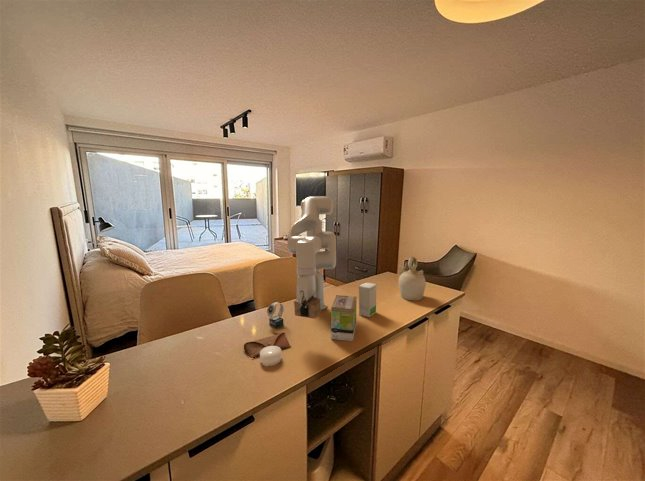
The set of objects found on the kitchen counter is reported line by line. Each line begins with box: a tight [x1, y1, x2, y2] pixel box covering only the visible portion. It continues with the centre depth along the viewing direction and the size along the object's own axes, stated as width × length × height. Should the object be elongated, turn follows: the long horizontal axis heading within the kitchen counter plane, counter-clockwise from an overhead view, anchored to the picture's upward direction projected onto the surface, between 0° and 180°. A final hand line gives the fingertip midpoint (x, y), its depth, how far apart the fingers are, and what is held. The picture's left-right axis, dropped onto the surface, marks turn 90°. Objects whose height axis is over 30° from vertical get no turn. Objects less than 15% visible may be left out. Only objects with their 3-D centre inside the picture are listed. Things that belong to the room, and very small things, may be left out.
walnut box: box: [293, 297, 322, 320], centre depth 107 cm, size 9×6×6 cm
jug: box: [398, 256, 427, 302], centre depth 156 cm, size 15×16×25 cm
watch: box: [266, 301, 285, 329], centre depth 125 cm, size 6×8×11 cm
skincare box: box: [358, 282, 377, 318], centre depth 135 cm, size 8×7×16 cm
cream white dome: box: [259, 346, 283, 366], centre depth 98 cm, size 8×8×4 cm
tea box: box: [330, 294, 358, 342], centre depth 117 cm, size 15×10×15 cm
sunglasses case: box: [243, 332, 292, 359], centre depth 106 cm, size 18×7×7 cm
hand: (307, 311), depth 108 cm, fingers closed on walnut box, 6 cm apart
